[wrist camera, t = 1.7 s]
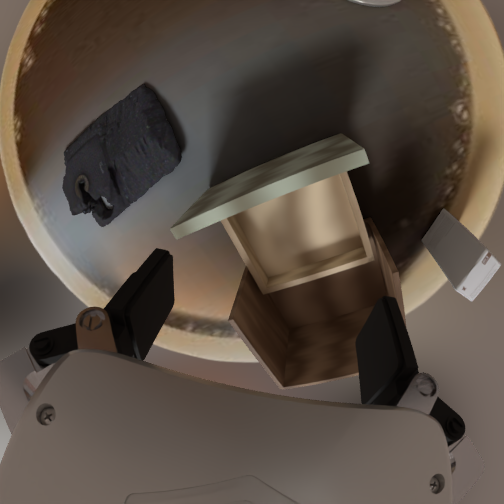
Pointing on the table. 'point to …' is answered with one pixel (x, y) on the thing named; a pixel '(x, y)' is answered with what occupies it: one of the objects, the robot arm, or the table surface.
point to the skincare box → (460, 255)
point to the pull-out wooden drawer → (290, 215)
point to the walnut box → (314, 319)
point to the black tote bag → (120, 157)
